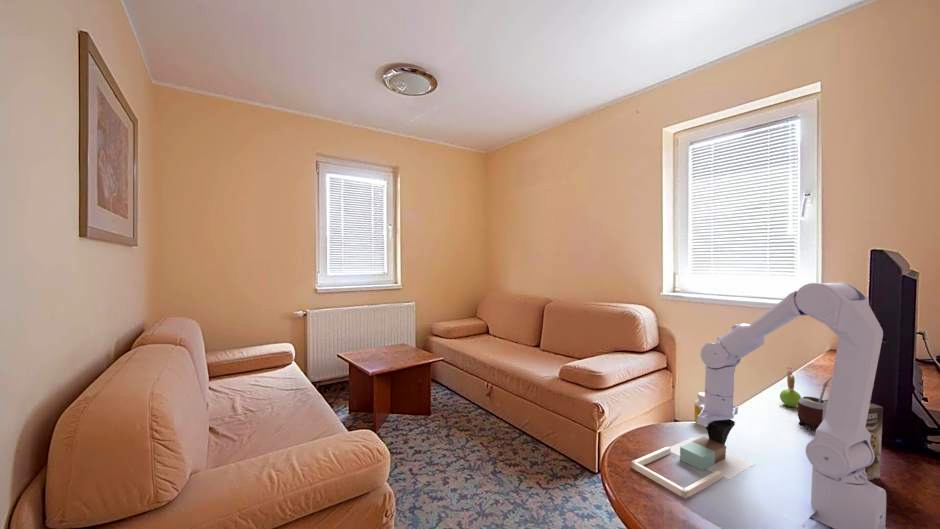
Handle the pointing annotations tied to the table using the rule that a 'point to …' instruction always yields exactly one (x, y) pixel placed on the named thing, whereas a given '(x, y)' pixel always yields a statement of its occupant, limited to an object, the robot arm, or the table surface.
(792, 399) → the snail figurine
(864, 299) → the robot arm
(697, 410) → the supplement bottle
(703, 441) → the brown square block
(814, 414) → the mate gourd
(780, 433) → the table surface
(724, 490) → the table surface
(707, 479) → the box
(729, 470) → the beige board
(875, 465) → the coffee box
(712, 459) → the mint green block
